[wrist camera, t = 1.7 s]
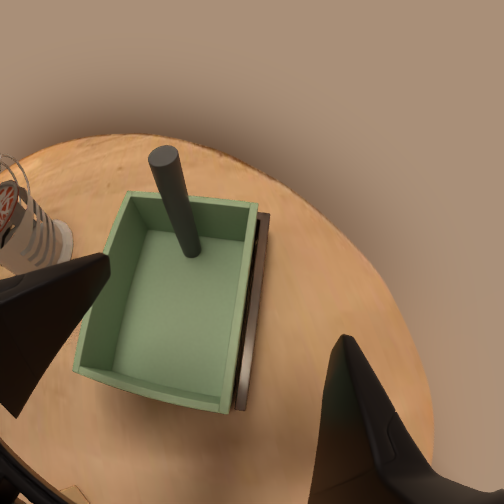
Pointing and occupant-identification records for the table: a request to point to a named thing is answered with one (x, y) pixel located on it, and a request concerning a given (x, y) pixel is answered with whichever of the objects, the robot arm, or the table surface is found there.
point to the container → (172, 294)
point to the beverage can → (4, 236)
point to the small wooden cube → (74, 495)
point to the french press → (29, 231)
